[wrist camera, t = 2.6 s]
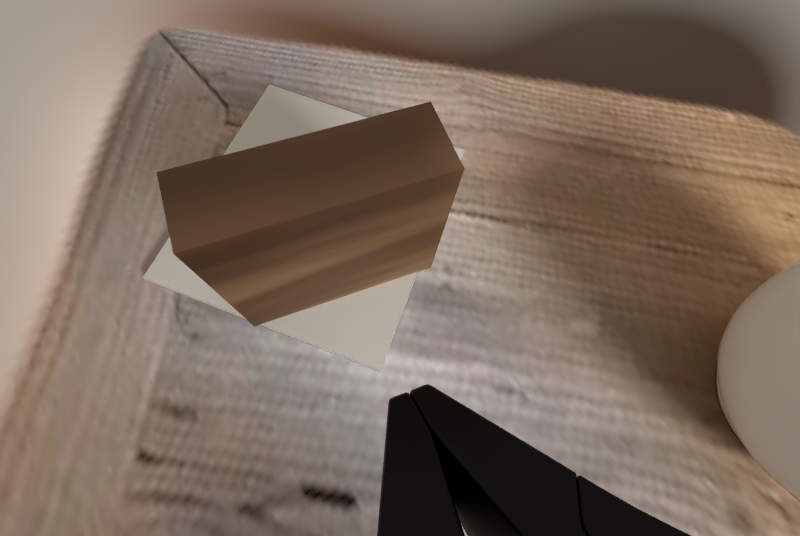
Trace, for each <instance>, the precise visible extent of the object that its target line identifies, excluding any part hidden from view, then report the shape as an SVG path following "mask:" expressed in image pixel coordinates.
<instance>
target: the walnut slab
mask: <svg viewBox="0 0 800 536" xmlns="http://www.w3.org/2000/svg"><path fill="white" fill-rule="evenodd" d="M463 171H464V167H463V165H462V163H461V161H460V159H459V157H458V155H457V153H456V151H455V149H454V147H453V145H452V143H451V141H450V139H449V137H448V135H447V133H446V131H445V129H444V127H443V125H442V123H441V121H440V119H439V117H438V115H437V113H436V111H435V109H434V107H433V105H432V103H431V102H428V103H424V104H420V105H416V106H413V107H409V108H405V109H401V110H397V111H393V112H389V113H385V114H381V115H378V116H374V117H370V118H366V119H362V120H358V121H354V122H350V123H347V124H343V125H339V126H335V127H331V128H327V129H323V130H319V131H315V132H312V133H308V134H304V135H300V136H296V137H292V138H288V139H284V140H281V141H277V142H273V143H269V144H265V145H261V146H257V147H253V148H249V149H246V150H242V151H238V152H234V153H230V154H226V155H222V156H218V157H214V158H211V159H207V160H203V161H199V162H195V163H191V164H187V165H183V166H180V167H176V168H172V169H168V170H164V171H160V172H157V176H158V181H159V186H160V191H161V196H162V201H163V206H164V210H165V215H166V220H167V225H168V230H169V235H170V240H171V245H172V250H173V254H174V255H175V256H176V257H178V258H179V259H180V260H181V261H182V262H183V263H184V264H185V265H186V266H188V267H189V268H190V269H191V270H192V271H193V272H194V273H195V274H197V275H198V276H199V277H200V278H201V279H202V280H203V281H204V282H205V283H207V284H208V285H209V286H210V287H211V288H212V289H213V290H214V291H215V292H217V293H218V294H219V295H220V296H221V297H222V298H223V299H224V300H226V301H227V302H228V303H229V304H230V305H231V306H232V307H233V308H234V309H236V310H237V311H238V312H239V313H240V314H241V315H242V316H243V317H245V318H246V319H247V320H248V321H249V322H250V323H251V324H252V325H253V326H257V325H260V324H263V323H266V322H269V321H272V320H275V319H278V318H281V317H284V316H287V315H290V314H293V313H296V312H299V311H302V310H305V309H308V308H311V307H314V306H317V305H320V304H323V303H326V302H329V301H332V300H335V299H338V298H341V297H344V296H347V295H350V294H353V293H356V292H359V291H362V290H365V289H368V288H370V287H373V286H376V285H379V284H382V283H385V282H388V281H391V280H394V279H397V278H400V277H403V276H406V275H409V274H412V273H415V272H418V271H421V270H424V269H427V268H430V267H431V265H432V262H433V259H434V256H435V254H436V251H437V248H438V245H439V242H440V239H441V236H442V233H443V230H444V227H445V224H446V221H447V218H448V215H449V212H450V209H451V206H452V203H453V200H454V197H455V194H456V191H457V188H458V186H459V183H460V180H461V177H462V174H463Z"/></svg>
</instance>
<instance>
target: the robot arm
mask: <svg viewBox="0 0 800 536" xmlns="http://www.w3.org/2000/svg"><path fill="white" fill-rule="evenodd" d="M461 524H462V525H461ZM462 526H463V528H464V530H465V531H466V533H467V535H468V536H691V535H689V534H687V533H684V532H682V531H680V530H678V529H676V528H674V527H672V526H670V525H668V524H666V523H664V522H663V521H661V520H659V519H657V518H655V517H653V516H651V515H649V514H647V513H645V512H643V511H641V510H639V509H637V508H635V507H633V506H632V505H630V504H628V503H626V502H625V501H623V500H621V499H619V498H618V497H616V496H614V495H612V494H611V493H609V492H607V491H605V490H604V489H602V488H600V487H599V486H597V485H595V484H594V483H592V482H590V481H589V480H587V479H585V478H584V477H582V476H576V473H575V472H573V471H572V470H570V469H569V468H567V467H565V466H564V465H562V464H560V463H559V462H557V461H555V460H554V459H552V458H550V457H549V456H547V455H545V454H544V453H542V452H540V451H539V450H537V449H535V448H534V447H532V446H530V445H529V444H527V443H525V442H524V441H522V440H520V439H519V438H517V437H515V436H514V435H512V434H511V433H509V432H507V431H506V430H504V429H502V428H501V427H499V426H497V425H496V424H494V423H492V422H491V421H489V420H487V419H486V418H484V417H482V416H481V415H479V414H477V413H476V412H474V411H472V410H471V409H469V408H467V407H466V406H464V405H462V404H461V403H459V402H458V401H456V400H454V399H453V398H451V397H449V396H448V395H446V394H444V393H443V392H441V391H439V390H438V389H436V388H434V387H433V386H431V385H428V384H427V385H423V386H421V387H418V388H416V389H413V390H411V392H410V394H409V393H403V394H400V395H398V396H395V397H393V398H391V399H390V400H389V404H388V416H387V428H386V439H385V451H384V463H383V474H382V486H381V497H380V509H379V521H378V532H377V536H465V535H464V532H463V529H462Z"/></svg>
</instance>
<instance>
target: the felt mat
mask: <svg viewBox="0 0 800 536" xmlns="http://www.w3.org/2000/svg"><path fill="white" fill-rule="evenodd" d="M366 118H367V117H364V116H361V115H358V114H355V113H352V112H349V111H346V110H343V109H341V108H338V107H335V106H332V105H329V104H326V103H323V102H320V101H317V100H314V99H311V98H308V97H305V96H302V95H299V94H296V93H293V92H290V91H287V90H284V89H281V88H278V87H275V86H272V85H269V86H268V87H267V89H266V90H265V92H264V93H263V95H262V96H261V98H260V99H259V101H258V102H257V104H256V105H255V107H254V108H253V110H252V112H251V113H250V115H249V116H248V118H247V119H246V121H245V122H244V124H243V125H242V127H241V128H240V130H239V131H238V133H237V134H236V136H235V137H234V139H233V141H232V142H231V144H230V145H229V147H228V148H227V150H226V151H225V153H224V154H223V155H226V154H230V153H234V152H238V151H242V150H246V149H249V148H253V147H257V146H261V145H265V144H269V143H273V142H277V141H281V140H284V139H288V138H292V137H296V136H300V135H304V134H308V133H312V132H315V131H319V130H323V129H327V128H331V127H335V126H339V125H343V124H347V123H350V122H354V121H358V120H362V119H366ZM454 149H455V151H456V153H457V155H458V157H459V159H460V161H461V158H462V155H463V152H464V150H462V149H459V148H456V147H454ZM417 274H418V272H415V273H412V274H409V275H406V276H403V277H400V278H397V279H394V280H391V281H388V282H385V283H382V284H379V285H376V286H373V287H370V288H368V289H365V290H362V291H359V292H356V293H353V294H350V295H347V296H344V297H341V298H338V299H335V300H332V301H329V302H326V303H323V304H320V305H317V306H314V307H311V308H308V309H305V310H302V311H299V312H296V313H293V314H290V315H287V316H284V317H281V318H278V319H275V320H272V321H269V322H266V323H263V324H260V325H262V326H264V327H267V328H270V329H272V330H275V331H277V332H280V333H283V334H285V335H288V336H290V337H293V338H295V339H298V340H301V341H303V342H306V343H308V344H311V345H313V346H316V347H319V348H321V349H324V350H326V351H329V352H331V353H334V354H337V355H339V356H342V357H344V358H347V359H350V360H352V361H355V362H357V363H360V364H362V365H365V366H368V367H370V368H373V369H375V370H378V371H381V368H382V366H383V363H384V360H385V358H386V355H387V352H388V350H389V347H390V345H391V342H392V339H393V337H394V334H395V331H396V329H397V326H398V324H399V321H400V318H401V316H402V313H403V310H404V308H405V305H406V303H407V300H408V297H409V295H410V292H411V289H412V287H413V284H414V282H415V279H416V276H417ZM143 278H144V279H146V280H147V281H149V282H151V283H154V284H156V285H159V286H161V287H164V288H167V289H169V290H172V291H174V292H177V293H179V294H182V295H185V296H187V297H190V298H192V299H195V300H197V301H200V302H203V303H205V304H208V305H210V306H213V307H215V308H218V309H221V310H223V311H226V312H228V313H231V314H234V315H236V316H239V317H241V318H244V319H246V318H245V317H243V316H242V315H241V314H240V313H239V312H238V311H237V310H236V309H234V308H233V307H232V306H231V305H230V304H229V303H228V302H227V301H226V300H224V299H223V298H222V297H221V296H220V295H219V294H218V293H217V292H215V291H214V290H213V289H212V288H211V287H210V286H209V285H208V284H207V283H205V282H204V281H203V280H202V279H201V278H200V277H199V276H198V275H197V274H195V273H194V272H193V271H192V270H191V269H190V268H189V267H188V266H186V265H185V264H184V263H183V262H182V261H181V260H180V259H179V258H178V257H176V256H175V255H174V254H173V250H172V245H171V240H170V237H169V238H168V240H167V241H166V243H165V244H164V246H163V247H162V249H161V251H160V252H159V254H158V255H157V257H156V258H155V260H154V261H153V263H152V264H151V266H150V267H149V269H148V270H147V272H146V273H145V275H144V276H143ZM246 320H247V319H246Z"/></svg>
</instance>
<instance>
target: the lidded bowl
mask: <svg viewBox="0 0 800 536" xmlns="http://www.w3.org/2000/svg"><path fill="white" fill-rule="evenodd" d="M716 386H717V393H718V398H719V402H720V405H721V408H722V411H723V413H724V415H725V418H726V420H727V421H728V423H729V425H730V427H731V428H732V430H733V432H734V433H735V434H736V436H737V437H738V438H739V440H740V441H741V442H742V444H743V445H744V446H745V448H746V449H747V450H748V452H749V453H750V454H751V456H752V457H753V458H754V460H755V461H756V462H757V463H758V464H759V465H760V466H761V467H762V468H763V469H764V471H765V472H766V473H767V474H768V475H769V476H770V477H771V478H772V479H774V480H775V481H776V482H777V483H778V484H779V485H780V486H782V487H783V488H784V489H785V490H786V491H787V492H789V493H790V494H791V495H792V496H793V497H794V498H796V499H797V500H798V501H800V260H799V261H798V262H796V263H794V264H793V265H791V266H789V267H787V268H786V269H784V270H782V271H781V272H779V273H777V274H776V275H774V276H772V277H771V278H770V279H768V280H767V281H766V282H764V283H763V284H762V285H760V286H759V287H758V288H757V289H755V290H754V291H753V292H752V293H751V294H750V295H749V296H748V297H747V298H746V299H745V300H744V301H743V303H742V304H741V305H740V306H739V307H738V309H737V310H736V311H735V313H734V314H733V316H732V317H731V319H730V320H729V322H728V325H727V327H726V329H725V332H724V334H723V337H722V339H721V342H720V346H719V351H718V356H717V373H716Z"/></svg>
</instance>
